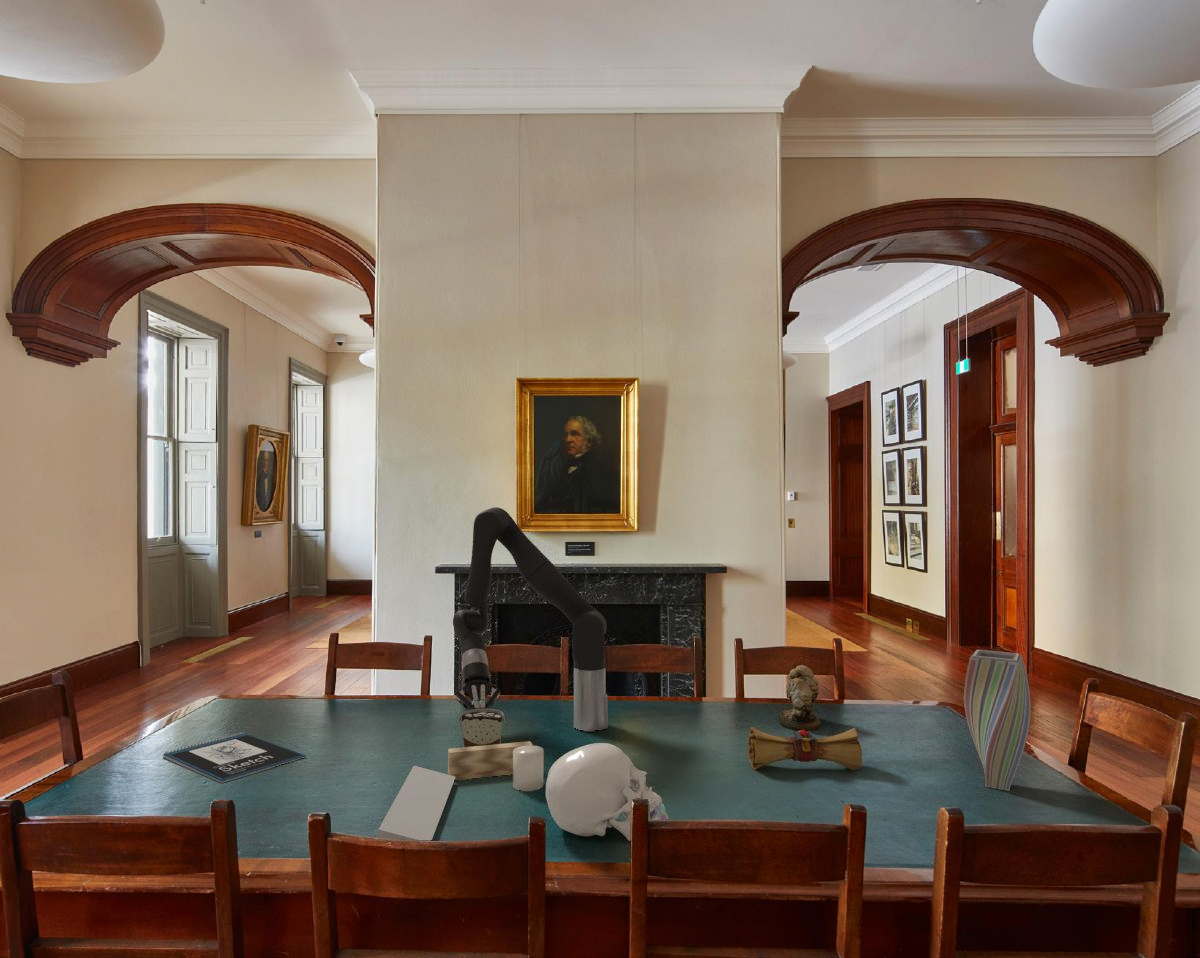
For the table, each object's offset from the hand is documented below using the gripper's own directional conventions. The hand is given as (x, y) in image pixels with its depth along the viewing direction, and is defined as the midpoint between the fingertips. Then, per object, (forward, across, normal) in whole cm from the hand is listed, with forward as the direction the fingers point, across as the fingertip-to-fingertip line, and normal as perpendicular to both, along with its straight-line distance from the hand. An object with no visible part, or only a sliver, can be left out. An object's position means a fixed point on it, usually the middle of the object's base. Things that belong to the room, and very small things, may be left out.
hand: (480, 723), depth 205 cm
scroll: (+34, +73, -27) cm, 85 cm away
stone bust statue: (+10, +93, -3) cm, 94 cm away
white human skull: (+49, +16, -41) cm, 66 cm away
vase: (+50, +110, -43) cm, 129 cm away
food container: (+9, 0, -2) cm, 9 cm away
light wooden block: (+21, -1, -14) cm, 25 cm away
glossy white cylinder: (+28, +6, -22) cm, 36 cm away
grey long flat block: (+36, -19, -28) cm, 49 cm away
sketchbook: (+1, -62, +7) cm, 62 cm away
